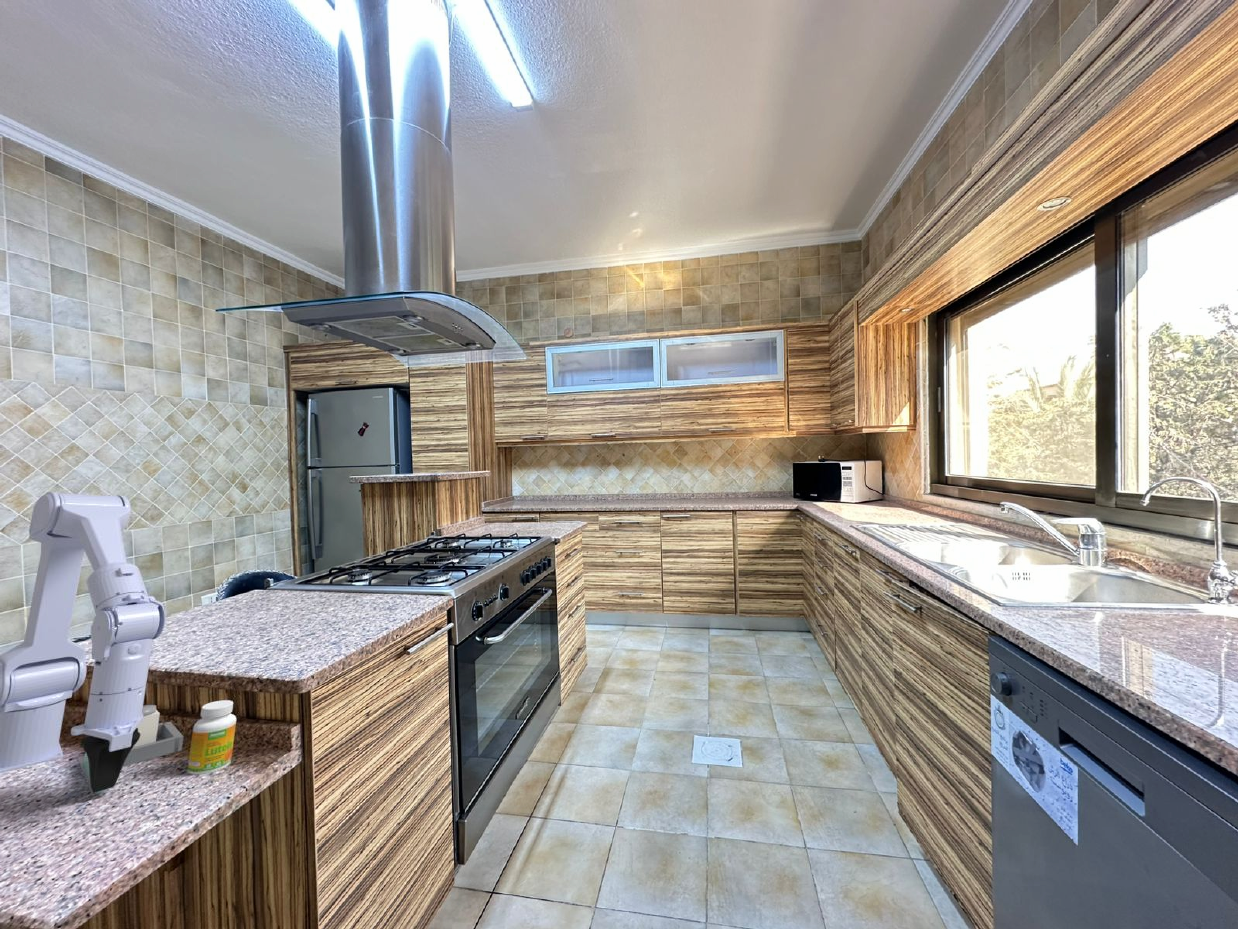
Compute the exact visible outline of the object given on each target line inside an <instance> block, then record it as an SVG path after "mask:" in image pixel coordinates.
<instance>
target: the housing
mask: <svg viewBox="0 0 1238 929" xmlns="http://www.w3.org/2000/svg"><path fill="white" fill-rule="evenodd" d="M183 743H184V735H183V734H182V733H181V732H180V731H179V729H177V728H176V726H175V725H174V724H173V723H172V722H171V721H170V722H167V721H163V722H158V729H157V736H156V742H152V743H148V744H144V745H140V746H136V747H133V748H132V749H131V751H130V752H129V754H128V756H127V758H126V760H125V762H124V764H123V767H126V766H130V765H134V764H138V763H140V762H144V761H145V762H146V761H149V760H152V759H156V758H159V757H162V756H166V755H170V754H174V753H177V752H182V750H183ZM84 758H85V755H82V756H79V757H77V761H78V763H79V765H80V768H81V771H82V773H83V776H84V778H85V779H84V780H85V781H86V784H87V786H88V788H89V791H90V794H91V796H92V797H93V796H96V795H99V794H102V793H103V794H104V793H107V792H109V789H106V790H105V791H104V792H100V793H97V794H95V793H93V791H92V788H91V784H90V780H89V777H88V775H87V773H86V770H85V768H84V765H83V764H84Z"/></svg>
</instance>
